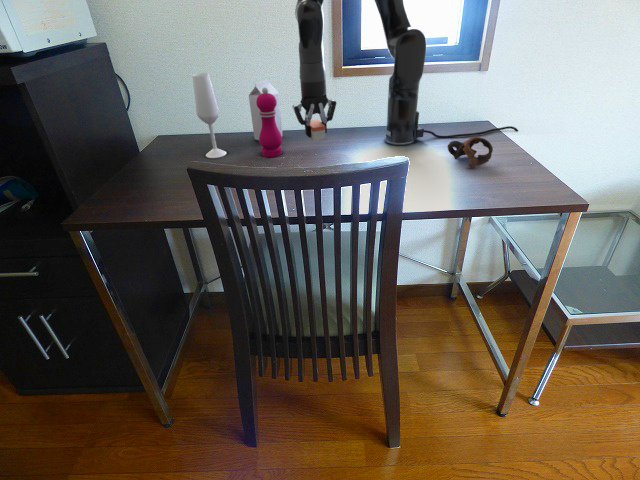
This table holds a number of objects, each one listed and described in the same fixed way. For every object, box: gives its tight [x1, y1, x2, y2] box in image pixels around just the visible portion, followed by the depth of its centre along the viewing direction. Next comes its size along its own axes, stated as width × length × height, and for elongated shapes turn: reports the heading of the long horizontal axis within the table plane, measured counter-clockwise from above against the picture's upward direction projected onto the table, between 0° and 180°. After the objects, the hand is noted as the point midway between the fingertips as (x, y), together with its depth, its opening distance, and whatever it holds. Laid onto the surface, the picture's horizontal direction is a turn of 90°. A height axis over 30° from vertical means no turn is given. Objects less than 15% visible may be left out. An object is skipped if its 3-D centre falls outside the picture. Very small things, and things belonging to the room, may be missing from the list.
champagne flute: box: [191, 72, 228, 159], centre depth 118 cm, size 7×7×24 cm
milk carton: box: [248, 78, 283, 141], centre depth 130 cm, size 7×7×19 cm
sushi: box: [309, 119, 327, 142], centre depth 121 cm, size 4×7×4 cm, turn 18°
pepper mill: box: [256, 88, 283, 158], centre depth 117 cm, size 7×7×20 cm
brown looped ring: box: [447, 136, 494, 169], centre depth 109 cm, size 12×10×8 cm
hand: (316, 135), depth 122 cm, fingers closed on sushi, 4 cm apart
